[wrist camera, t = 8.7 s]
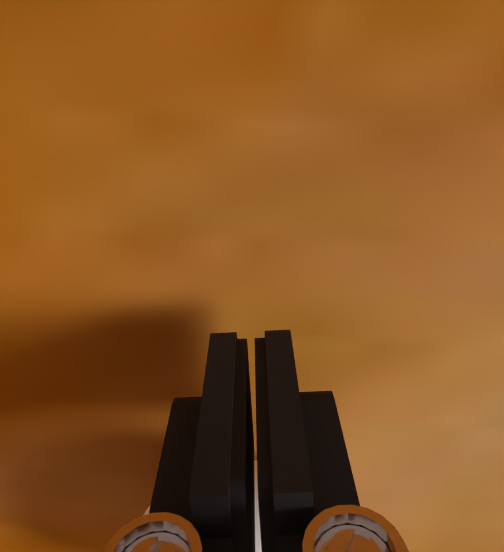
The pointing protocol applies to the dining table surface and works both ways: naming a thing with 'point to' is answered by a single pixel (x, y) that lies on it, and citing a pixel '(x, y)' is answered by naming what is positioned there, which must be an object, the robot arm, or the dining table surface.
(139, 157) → the dining table surface
